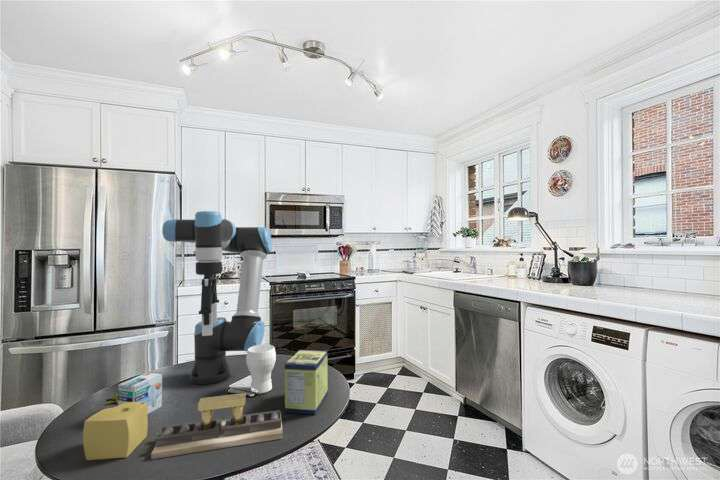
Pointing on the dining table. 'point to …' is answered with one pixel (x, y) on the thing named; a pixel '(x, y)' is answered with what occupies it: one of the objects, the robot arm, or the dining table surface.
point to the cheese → (115, 431)
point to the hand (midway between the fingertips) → (210, 329)
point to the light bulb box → (142, 390)
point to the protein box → (306, 381)
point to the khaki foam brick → (221, 402)
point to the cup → (261, 366)
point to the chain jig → (217, 434)
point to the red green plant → (115, 398)
